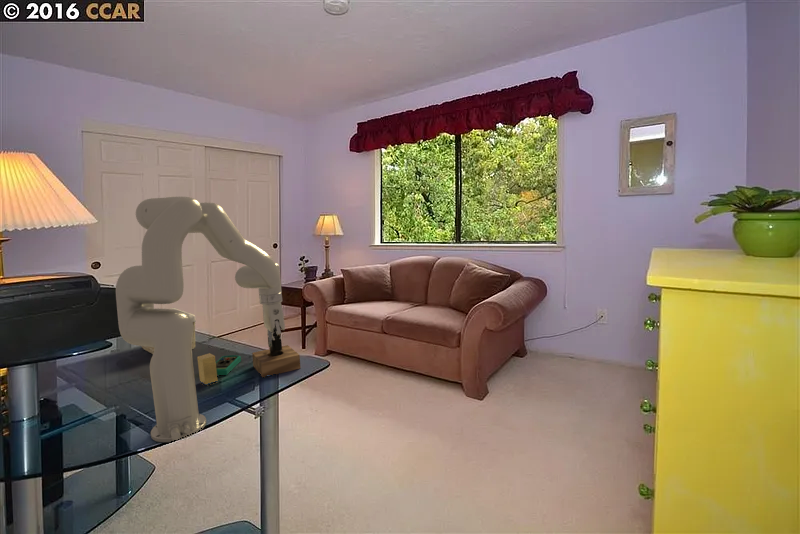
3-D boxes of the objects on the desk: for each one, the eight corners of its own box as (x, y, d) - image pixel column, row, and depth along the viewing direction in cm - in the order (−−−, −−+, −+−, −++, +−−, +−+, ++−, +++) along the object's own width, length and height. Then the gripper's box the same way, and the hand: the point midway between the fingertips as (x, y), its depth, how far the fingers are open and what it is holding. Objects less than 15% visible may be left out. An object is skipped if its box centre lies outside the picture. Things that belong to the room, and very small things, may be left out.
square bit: (217, 381, 135) (214, 355, 134) (205, 386, 132) (202, 359, 131) (212, 378, 138) (209, 353, 136) (200, 382, 135) (197, 356, 133)
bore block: (300, 368, 144) (299, 354, 143) (262, 377, 137) (261, 363, 136) (288, 357, 155) (287, 345, 154) (253, 366, 148) (252, 352, 147)
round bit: (283, 354, 145) (281, 329, 143) (271, 357, 142) (269, 332, 141) (279, 351, 148) (277, 327, 147) (268, 353, 146) (266, 329, 144)
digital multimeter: (242, 361, 154) (241, 353, 154) (227, 377, 139) (226, 369, 139) (222, 362, 154) (221, 355, 154) (205, 378, 139) (204, 370, 139)
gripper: (289, 300, 137) (293, 352, 140) (274, 292, 151) (278, 340, 154) (266, 304, 133) (271, 357, 136) (253, 295, 147) (258, 344, 150)
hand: (275, 348), depth 145 cm, fingers closed on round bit, 4 cm apart
